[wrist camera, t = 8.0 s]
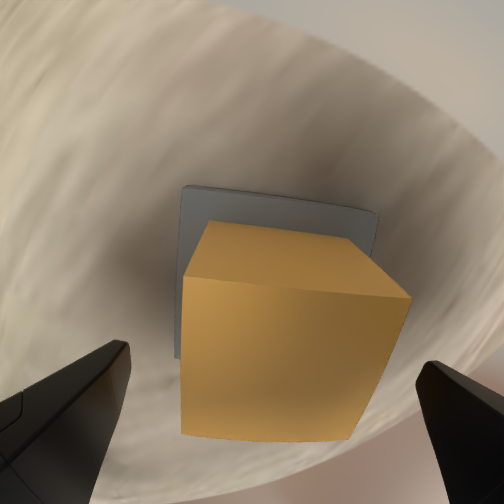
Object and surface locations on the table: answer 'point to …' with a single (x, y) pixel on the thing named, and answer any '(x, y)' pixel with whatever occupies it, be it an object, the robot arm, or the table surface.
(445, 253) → the table surface
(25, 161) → the table surface
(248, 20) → the table surface
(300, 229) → the grey base with peg
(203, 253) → the orange foam cube
